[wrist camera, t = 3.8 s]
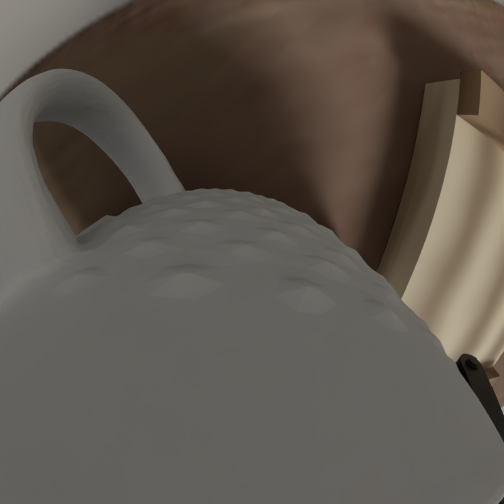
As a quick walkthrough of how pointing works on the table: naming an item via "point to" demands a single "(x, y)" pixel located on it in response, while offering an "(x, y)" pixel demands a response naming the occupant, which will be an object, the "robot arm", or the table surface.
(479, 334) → the wooden tray
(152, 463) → the mug
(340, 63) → the table surface
